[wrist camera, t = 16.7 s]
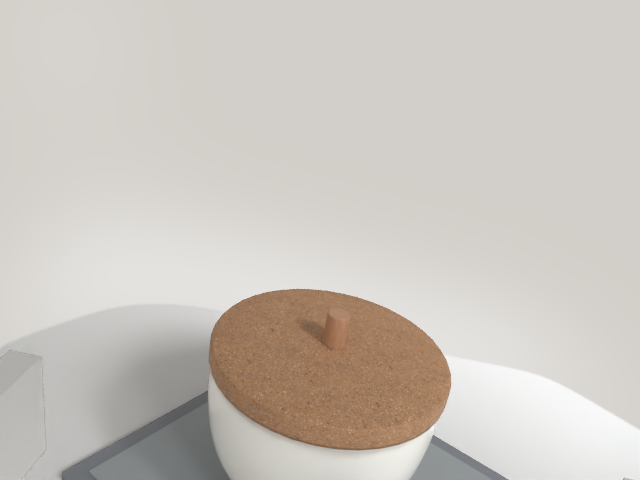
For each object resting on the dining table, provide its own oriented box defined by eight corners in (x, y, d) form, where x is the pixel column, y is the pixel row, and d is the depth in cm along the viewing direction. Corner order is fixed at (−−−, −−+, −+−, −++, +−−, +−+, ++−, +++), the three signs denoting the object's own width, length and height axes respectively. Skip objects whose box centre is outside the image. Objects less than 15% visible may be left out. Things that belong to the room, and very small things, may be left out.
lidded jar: (246, 384, 34) (267, 242, 30) (421, 441, 32) (466, 296, 28) (150, 523, 24) (165, 337, 21) (394, 618, 22) (456, 430, 19)
